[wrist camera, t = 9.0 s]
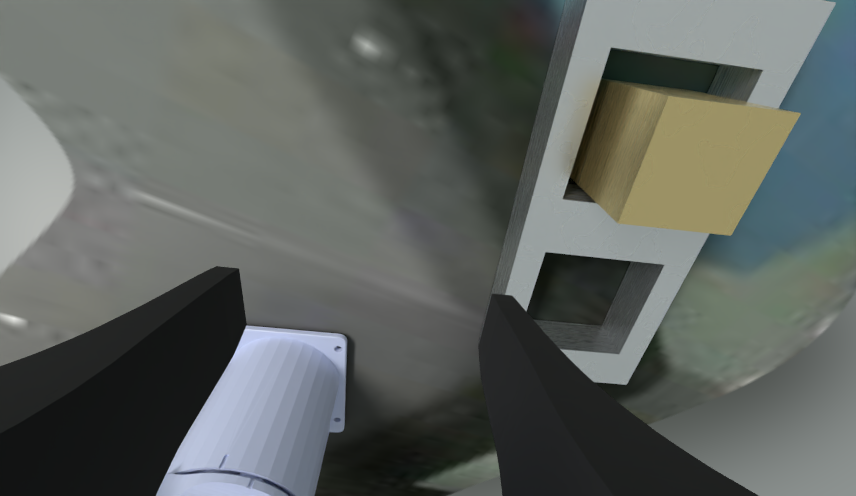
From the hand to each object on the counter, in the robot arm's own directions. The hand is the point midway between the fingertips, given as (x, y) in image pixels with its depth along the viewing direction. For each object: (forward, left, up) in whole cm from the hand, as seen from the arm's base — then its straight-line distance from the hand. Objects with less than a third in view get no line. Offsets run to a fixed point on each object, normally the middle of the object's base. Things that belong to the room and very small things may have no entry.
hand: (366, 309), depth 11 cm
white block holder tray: (0, -11, -10) cm, 15 cm away
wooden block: (+4, -11, -10) cm, 15 cm away
